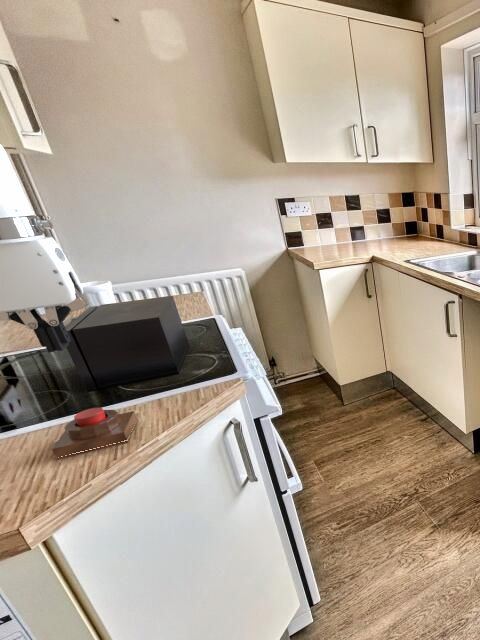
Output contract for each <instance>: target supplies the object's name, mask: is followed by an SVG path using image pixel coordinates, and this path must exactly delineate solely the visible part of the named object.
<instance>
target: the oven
mask: <svg viewBox="0 0 480 640" xmlns="http://www.w3.org/2000/svg"><path fill="white" fill-rule="evenodd" d="M73 332H74V334H75V336H76V339H77V341H78V343H79V345H80V347H81V350H82V352H83V354H84V356H85V359H86V361H87V363H88V365H89V368H90V370H91V372H92V374H93V377H94V379H95V381H96V383H97V386H98V388H99V389H98V390H99V391H103V390H106V389H112V388H118V387H122V386H127V385H132V384H137V383H138V384H139V383H143V382H147V381H153V380H158V379H162V378H168V377H173V376H178V375H180V374H181V371H182V368H183V365H184V362H185V360H186V357H187V354H188V351H189V350H190V349H189V348H190V342H189V339H188V336H187V334H186V331H185V328H184V325H183V323H182V318H181V316H180V314H179V311H178V307H177V304H176V301H175V298H174V295H168V296H159V297H152V298H143V299H137V300H136V299H135V300H128V301H127V300H126V301H119V302H116V303H111V304H103V305H100V306H99V307H98V308H97V309H96V310H94V311H93V312H92V313H91V314H90V315H89V316H87V317H86V318H85V319H84V320H83V321H82V322H81V323H79V324H78V325H77V326H76V327H75V328H74V329H73Z"/></svg>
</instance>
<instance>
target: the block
mask: <svg viewBox="0 0 480 640" xmlns="http://www.w3.org/2000/svg"><path fill="white" fill-rule="evenodd" d="M103 411H104V413H105V415H106V417H107V418H106V419H104V420H102V421H101V422H98V423H95V424H93V425H88V426H84V427H79V426H78V425H77V423H76V421H75V419H74V418H73V420H71V421H69V422H67V424H66V425H65V426H64V432H63V433H62V434H61V436H60V437H59V438H58V440H57V441H56V443H55V444H54V445H53V447H52V448H51V451H52V453H53V454H54V456H55V458H56V460H57V461H60V460H63V459H68V458H72V457H76V456H81V455H84V454H88V453H92V452H97V451H100V450H104V449H109V448H113V447H116V446H117V447H118V446H121V445H124V444H125V445H126V444H129V442H130V441H131V438H132V436H133V434H134V431H135V429H136V427H137V425H138V423H139V419H138V417H137V414H136V412H135V410H132V411H128V412H123V413H119V412H118V411H116V410H115V409H103ZM136 421H137V422H136ZM135 423H136V424H135ZM134 425H135V426H134ZM133 427H134V428H133ZM132 429H133V430H132ZM131 431H132V432H131ZM129 435H130V437H129ZM128 437H129V439H128ZM127 439H128V441H125V442H121V441H124V440H127ZM118 442H120V443H118ZM113 443H116V444H113ZM109 444H112V445H109ZM106 445H108V446H106ZM101 446H104V447H101ZM97 447H100V448H97ZM93 448H96V449H93ZM89 449H92V450H89ZM85 450H88V451H85ZM80 451H84V452H80ZM76 452H80V453H76ZM72 453H76V454H72ZM69 454H71V455H69ZM65 455H67V456H65ZM61 456H63V457H61ZM58 457H59V458H58Z"/></svg>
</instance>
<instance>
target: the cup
mask: <svg viewBox="0 0 480 640" xmlns="http://www.w3.org/2000/svg"><path fill="white" fill-rule="evenodd" d="M80 283H81V282H80ZM81 286H82V288H83V292H84V293H83V295H82V296H83V297H84V299H85V300H86V301H87V302H88V305H87V306H86V307H84V308H83V309H84V311H85V310H87V309H88V308H89V307H93V306H100V305H103V304H111V303H117V300H116V297H115V294H114V291H113V285H112V281H110V280H93V281H86V282H82V283H81Z"/></svg>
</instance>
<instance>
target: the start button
mask: <svg viewBox="0 0 480 640" xmlns="http://www.w3.org/2000/svg"><path fill="white" fill-rule="evenodd" d="M103 410H104V409H103V408H102V407H92V408H88V409H84V410H82V411H80V412H78V413H77V414H75V415H74V418H73V420H74V419H75V421H76V423H77V425H78V426H79V427H84V426H88V425H93V424H95V423H98V422H101V421H102V420H104V419H106V418H107V417H106V415H105V413H104V411H103Z"/></svg>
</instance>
